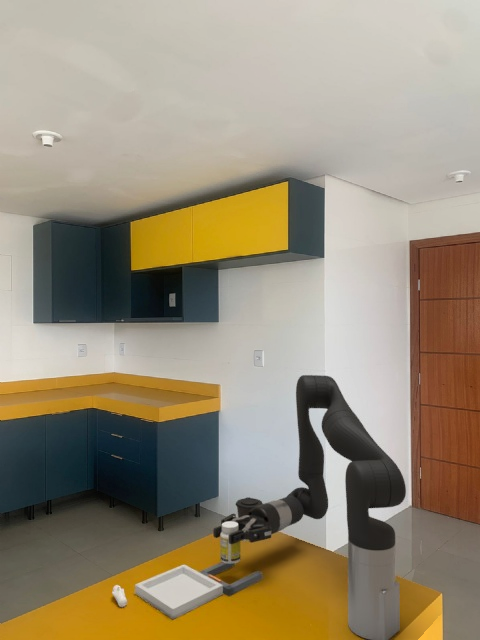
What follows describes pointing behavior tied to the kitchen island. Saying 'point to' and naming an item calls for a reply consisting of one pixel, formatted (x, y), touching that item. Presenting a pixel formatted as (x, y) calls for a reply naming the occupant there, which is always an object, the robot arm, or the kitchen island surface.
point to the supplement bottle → (229, 551)
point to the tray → (178, 591)
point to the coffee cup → (246, 506)
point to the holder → (236, 585)
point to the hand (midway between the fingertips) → (222, 536)
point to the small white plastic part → (119, 595)
